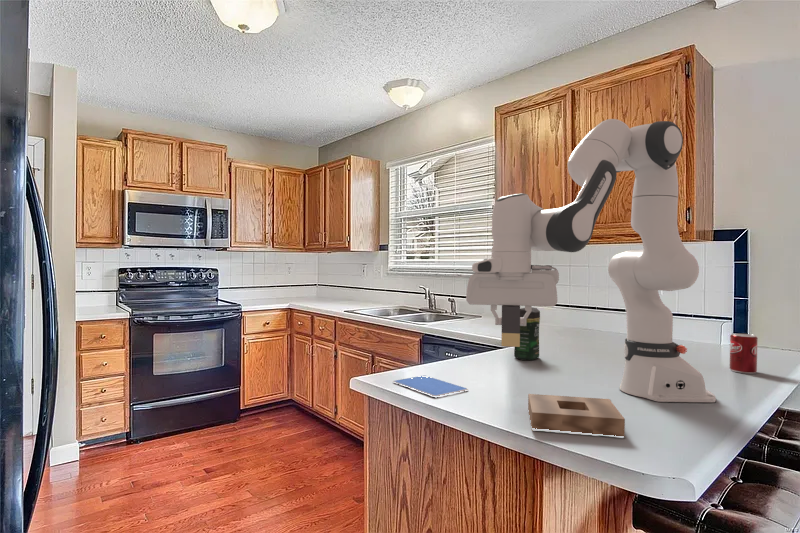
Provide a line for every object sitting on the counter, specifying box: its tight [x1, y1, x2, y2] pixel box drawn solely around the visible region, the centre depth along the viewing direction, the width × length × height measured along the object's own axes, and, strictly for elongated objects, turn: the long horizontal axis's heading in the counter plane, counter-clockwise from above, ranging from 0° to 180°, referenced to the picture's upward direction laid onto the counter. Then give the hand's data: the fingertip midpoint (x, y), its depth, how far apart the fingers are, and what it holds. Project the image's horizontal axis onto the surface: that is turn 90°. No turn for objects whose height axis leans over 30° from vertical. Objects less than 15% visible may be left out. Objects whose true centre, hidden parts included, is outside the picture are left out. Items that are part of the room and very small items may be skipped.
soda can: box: [729, 332, 759, 375], centre depth 155 cm, size 7×7×12 cm
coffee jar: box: [513, 307, 541, 361], centre depth 173 cm, size 10×8×19 cm
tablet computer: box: [392, 375, 469, 396], centre depth 133 cm, size 19×13×1 cm, turn 36°
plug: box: [501, 305, 521, 348], centre depth 109 cm, size 4×4×12 cm
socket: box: [527, 393, 626, 437], centre depth 104 cm, size 18×14×4 cm
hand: (510, 325), depth 109 cm, fingers closed on plug, 4 cm apart
